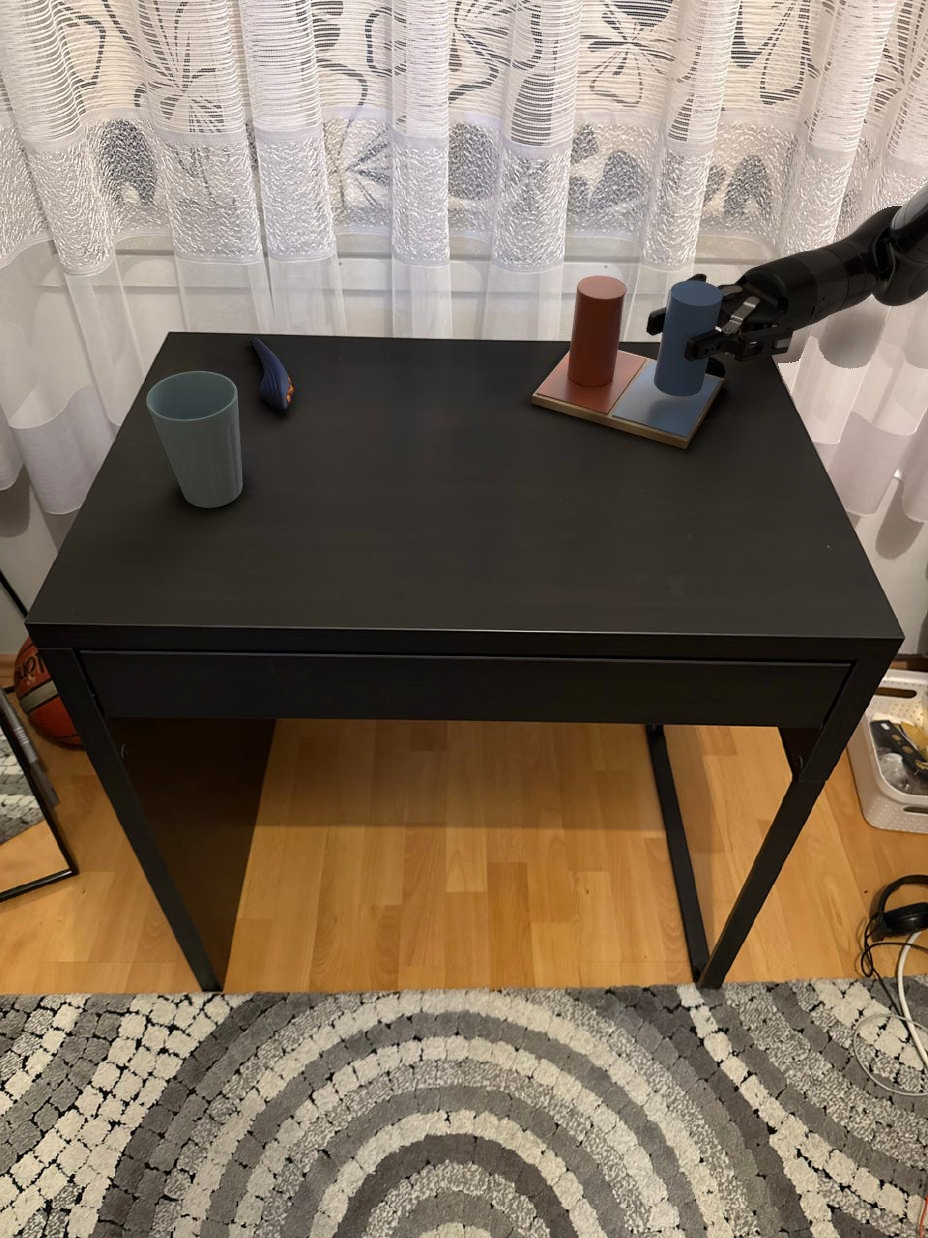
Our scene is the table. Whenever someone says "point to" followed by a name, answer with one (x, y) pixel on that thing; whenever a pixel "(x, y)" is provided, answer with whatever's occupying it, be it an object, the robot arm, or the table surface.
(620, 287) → the rust canister
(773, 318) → the robot arm
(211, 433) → the cup
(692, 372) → the blue canister
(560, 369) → the board
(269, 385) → the tapered navy handle
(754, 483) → the table surface
